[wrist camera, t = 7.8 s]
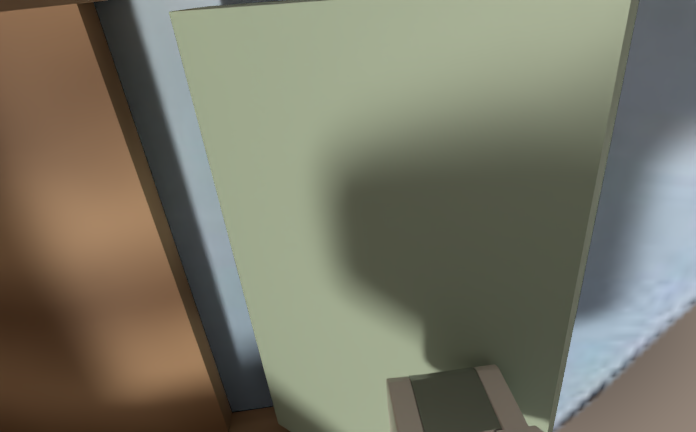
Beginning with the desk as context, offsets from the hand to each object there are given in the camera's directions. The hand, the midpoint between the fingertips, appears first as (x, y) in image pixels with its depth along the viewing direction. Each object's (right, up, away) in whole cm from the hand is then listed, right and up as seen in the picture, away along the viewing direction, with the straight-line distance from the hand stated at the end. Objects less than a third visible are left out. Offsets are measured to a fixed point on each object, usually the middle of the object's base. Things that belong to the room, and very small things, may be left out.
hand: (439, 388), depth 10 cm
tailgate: (-5, +3, +5) cm, 8 cm away
